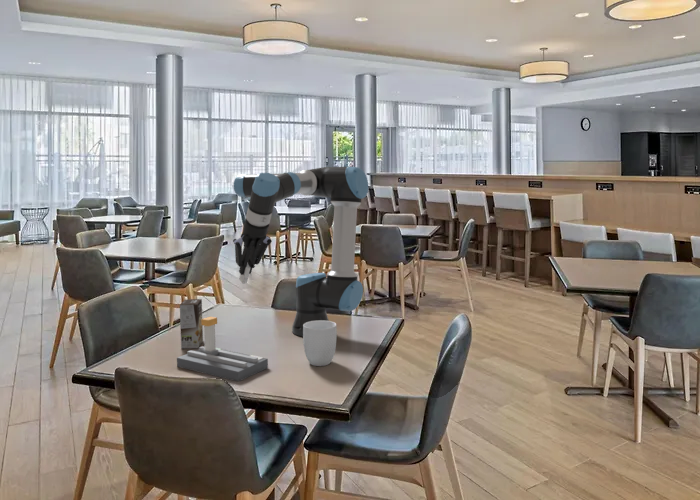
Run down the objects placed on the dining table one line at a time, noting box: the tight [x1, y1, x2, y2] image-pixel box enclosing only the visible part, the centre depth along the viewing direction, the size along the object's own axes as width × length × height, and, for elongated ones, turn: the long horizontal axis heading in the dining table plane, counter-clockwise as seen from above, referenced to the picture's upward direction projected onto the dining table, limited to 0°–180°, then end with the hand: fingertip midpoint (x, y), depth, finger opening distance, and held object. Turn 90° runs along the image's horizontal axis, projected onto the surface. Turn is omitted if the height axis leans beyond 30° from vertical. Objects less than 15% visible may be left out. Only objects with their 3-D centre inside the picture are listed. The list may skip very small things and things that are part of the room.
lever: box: [201, 316, 218, 355], centre depth 183 cm, size 4×4×12 cm
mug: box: [302, 320, 337, 367], centre depth 187 cm, size 15×11×13 cm
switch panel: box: [176, 345, 269, 382], centre depth 182 cm, size 26×14×4 cm, turn 60°
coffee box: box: [179, 298, 204, 349], centre depth 205 cm, size 9×6×16 cm
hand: (242, 281), depth 187 cm, fingers closed
